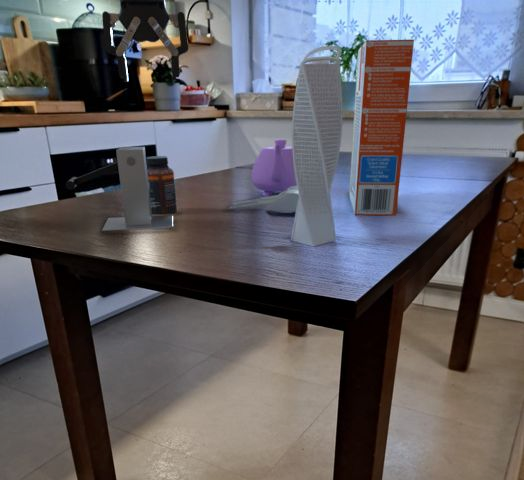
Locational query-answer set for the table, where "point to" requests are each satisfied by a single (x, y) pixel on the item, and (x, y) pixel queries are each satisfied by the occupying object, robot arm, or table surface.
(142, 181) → the upright plaque on base
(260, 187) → the teapot
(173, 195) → the supplement bottle
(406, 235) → the table surface
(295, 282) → the table surface
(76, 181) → the lever
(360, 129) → the orange cereal box
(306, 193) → the skyscraper
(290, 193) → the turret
